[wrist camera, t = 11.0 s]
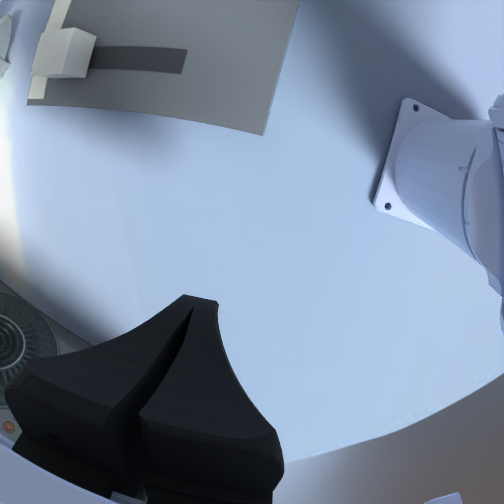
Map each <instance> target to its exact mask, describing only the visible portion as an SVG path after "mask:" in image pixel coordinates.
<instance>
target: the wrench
mask: <svg viewBox="0 0 504 504" xmlns="http://www.w3.org/2000/svg"><path fill="white" fill-rule="evenodd" d="M11 32H12V16H11V15H10V14H6V15H4V16H3V17H2V18H1V20H0V79H1V78H2V77H3V75H4V72H5V70H6V69H7V68H8V67H10V65H11V64H9V63H7V62H5V57H6V54H7V50H8V47H9V44H10V40H11Z"/></svg>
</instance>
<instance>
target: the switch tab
mask: <svg viewBox="0 0 504 504" xmlns="http://www.w3.org/2000/svg"><path fill="white" fill-rule="evenodd" d="M96 37H97V36H95V35H92V34H90V33H88V32H85V31H83V30H80V29H78V28H75V27H74V28H66V29H59V30H53V31H47V32H42V33H41V36H40V39H39V43H38V46H37V50H36V53H35V57H34V61H33V65H32V69H31V73H30V76H39V77H47V78H86V73H87V69H88V65H89V62H90V58H91V54H92V51H93V47H94V44H95V40H96Z"/></svg>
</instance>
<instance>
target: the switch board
mask: <svg viewBox="0 0 504 504" xmlns="http://www.w3.org/2000/svg"><path fill="white" fill-rule="evenodd" d="M299 3H300V0H56V1H55V3H54V6H53V8H52V11H51V14H50V17H49V19H48V22H47V25H46V28H45V31H44V32H47V31H53V30H59V29H66V28H74V27H75V28H78V29H80V30H83V31H85V32H88V33H90V34H92V35H95V36H97V37H96V40H95V44H94V47H93V51H92V54H91V58H90V62H89V65H88V69H87V73H86V78H47V77H39V76H32V80H31V85H30V90H29V95H28V100H27V105H47V106H72V107H88V108H100V109H111V110H121V111H130V112H138V113H145V114H153V115H160V116H166V117H173V118H179V119H185V120H190V121H196V122H201V123H207V124H212V125H217V126H222V127H226V128H231V129H236V130H240V131H244V132H249V133H253V134H257V135H261V136H264V132H265V128H266V124H267V121H268V117H269V113H270V109H271V105H272V102H273V98H274V94H275V90H276V87H277V83H278V79H279V75H280V72H281V68H282V64H283V61H284V57H285V53H286V50H287V46H288V42H289V39H290V35H291V31H292V28H293V24H294V21H295V17H296V14H297V10H298V6H299Z"/></svg>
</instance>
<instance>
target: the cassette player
mask: <svg viewBox="0 0 504 504" xmlns="http://www.w3.org/2000/svg"><path fill="white" fill-rule="evenodd" d="M90 347H93V345H91V344H89V343H88V342H86V341H84V340H83V339H81V338H80V337H78V336H76V335H75V334H73V333H72V332H70V331H69V330H67V329H66V328H64V327H63V326H61V325H60V324H58V323H57V322H55V321H54V320H52V319H51V318H49V317H48V316H46V315H45V314H44V313H42V312H41V311H39V310H38V309H37V308H35V307H34V306H33V305H31V304H30V303H28V302H27V301H26V300H24V299H23V298H22V297H21V296H19V295H18V294H17V293H15V292H14V291H13V290H12V289H10V288H9V287H8V286H7V285H5V284H4V283H3V282H2V281H1V280H0V434H2V435H3V436H5V437H6V438H8V439H9V440H11V441H12V442H14V443H15V442H16V441H17V439H18V437H19V436H20V434H21V433H22V430H21V428H20V426H19V425H18V423H17V421H16V420H15V418H14V416H13V414H12V413H11V411H10V409H9V407H8V405H7V403H6V400H5V396H4V389H5V387H6V385H7V384H8V383H9V382H10V380H11V379H12V378H13V377H14V376H15V374H16V373H17V372H18V371H19V370H20V368H21V367H22V366H23V365H24V364H25V363H26V362H27V361H28V360H29V359H34V358H42V357H50V356H57V355H63V354H67V353H72V352H76V351H80V350H83V349H87V348H90ZM146 502H147V501H146Z"/></svg>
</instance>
